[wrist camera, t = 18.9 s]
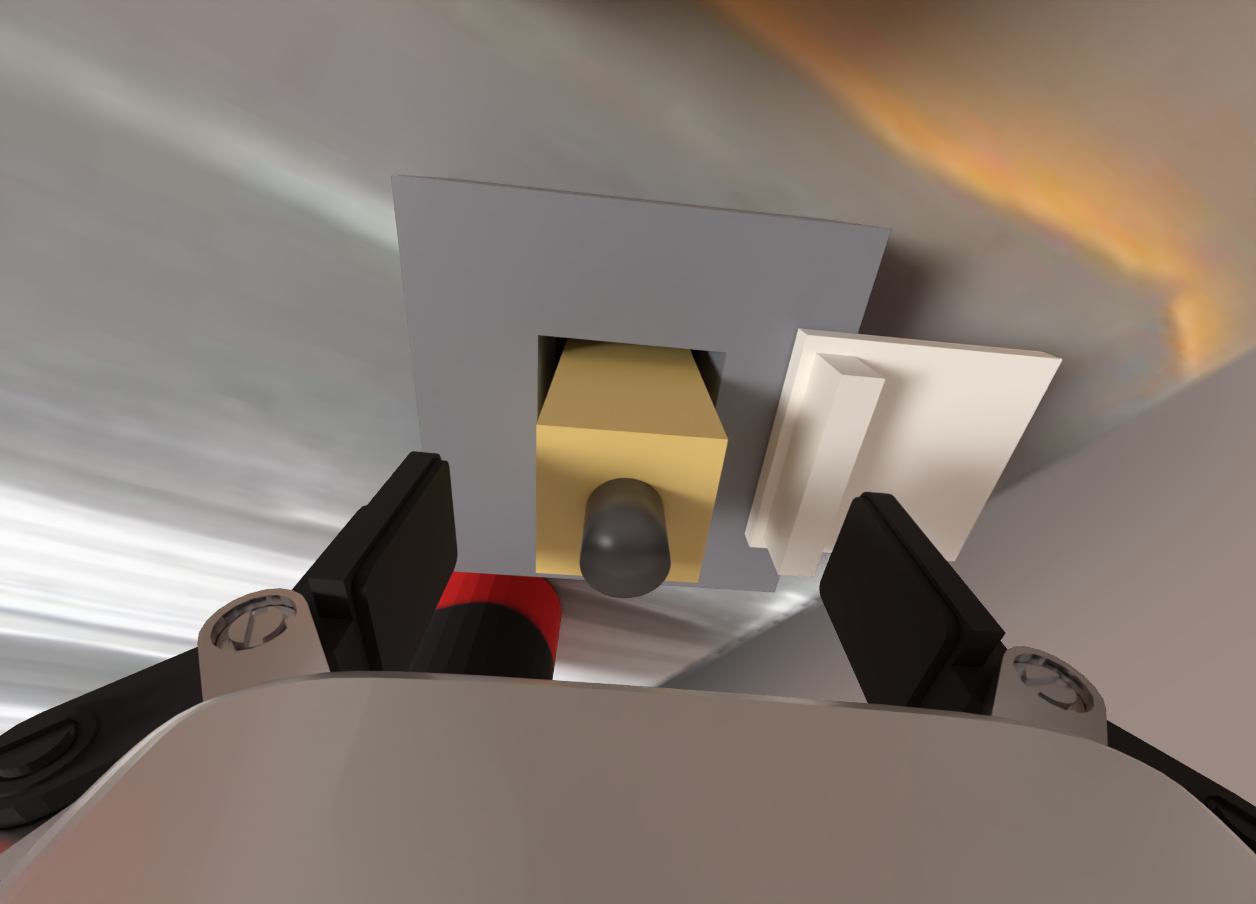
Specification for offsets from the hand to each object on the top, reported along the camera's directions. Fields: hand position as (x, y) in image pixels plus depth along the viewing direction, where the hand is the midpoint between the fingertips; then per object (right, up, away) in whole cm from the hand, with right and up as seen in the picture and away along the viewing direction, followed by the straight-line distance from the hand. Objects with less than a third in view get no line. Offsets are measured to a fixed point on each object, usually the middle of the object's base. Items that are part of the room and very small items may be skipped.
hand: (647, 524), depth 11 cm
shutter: (+8, +2, +6) cm, 10 cm away
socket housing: (-1, +5, +10) cm, 11 cm away
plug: (-1, +5, +10) cm, 11 cm away
